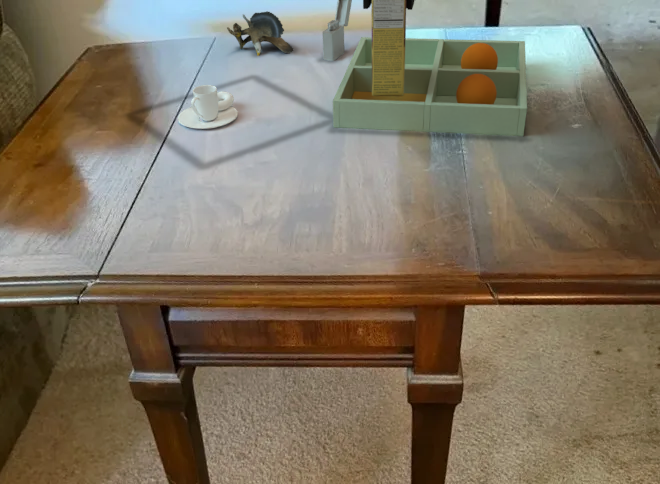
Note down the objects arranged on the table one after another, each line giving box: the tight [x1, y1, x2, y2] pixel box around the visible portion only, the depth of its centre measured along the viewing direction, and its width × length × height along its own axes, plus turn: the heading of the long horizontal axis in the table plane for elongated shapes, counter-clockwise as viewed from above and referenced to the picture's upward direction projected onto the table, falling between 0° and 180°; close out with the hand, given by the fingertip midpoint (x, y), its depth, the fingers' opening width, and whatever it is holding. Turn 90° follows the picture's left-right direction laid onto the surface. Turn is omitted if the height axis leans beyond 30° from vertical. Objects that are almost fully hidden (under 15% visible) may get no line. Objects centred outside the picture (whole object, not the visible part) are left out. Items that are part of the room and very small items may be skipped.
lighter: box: [322, 0, 353, 62], centre depth 116 cm, size 7×2×8 cm, turn 153°
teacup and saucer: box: [177, 84, 239, 130], centre depth 101 cm, size 9×8×4 cm
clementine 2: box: [456, 74, 497, 105], centre depth 97 cm, size 5×5×5 cm
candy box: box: [371, 0, 407, 96], centre depth 93 cm, size 9×4×15 cm, turn 175°
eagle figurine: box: [226, 10, 295, 57], centre depth 119 cm, size 8×7×9 cm
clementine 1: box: [461, 43, 498, 70], centre depth 105 cm, size 5×5×5 cm
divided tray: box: [332, 36, 528, 137], centre depth 103 cm, size 23×23×4 cm
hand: (388, 4), depth 92 cm, fingers closed on candy box, 4 cm apart
